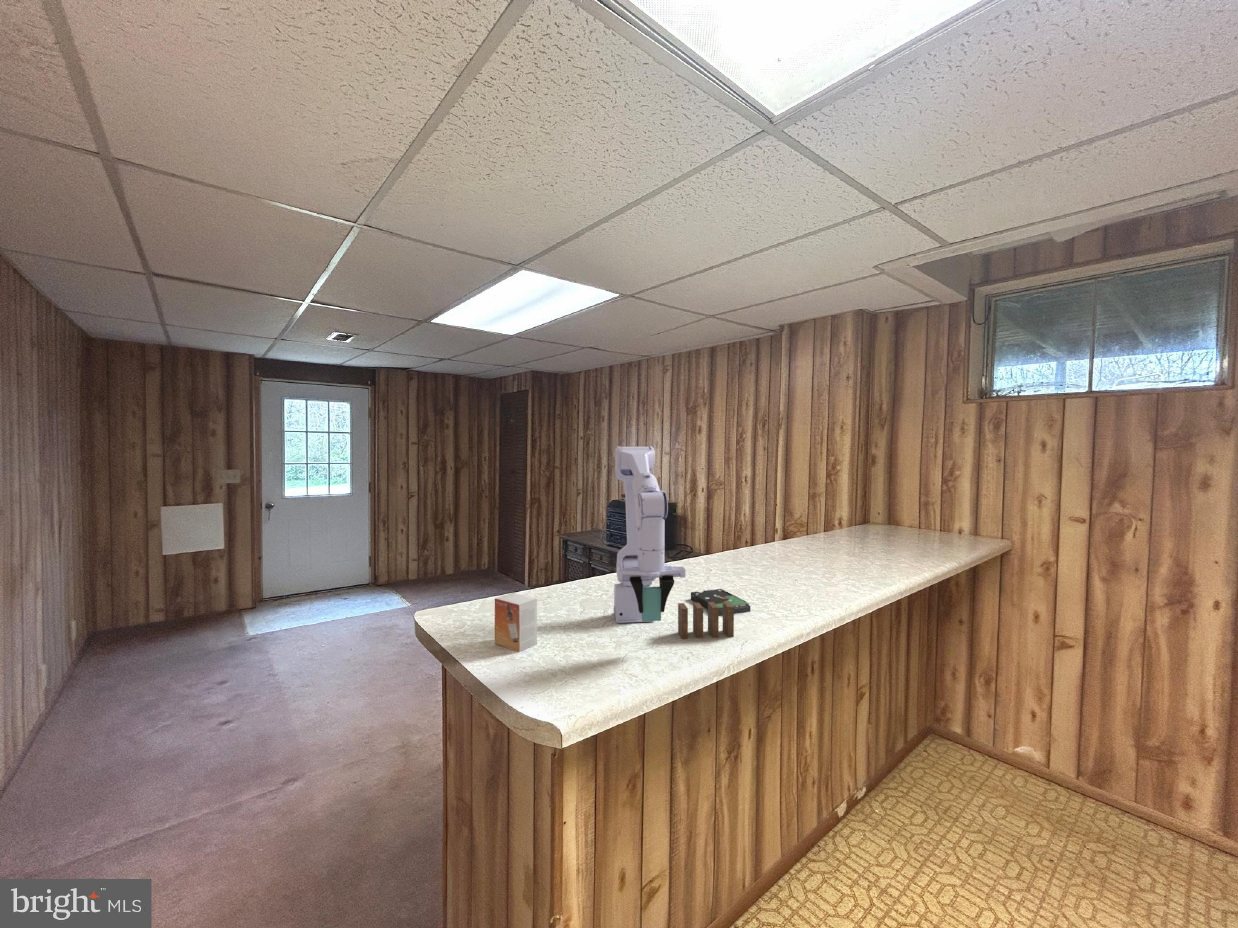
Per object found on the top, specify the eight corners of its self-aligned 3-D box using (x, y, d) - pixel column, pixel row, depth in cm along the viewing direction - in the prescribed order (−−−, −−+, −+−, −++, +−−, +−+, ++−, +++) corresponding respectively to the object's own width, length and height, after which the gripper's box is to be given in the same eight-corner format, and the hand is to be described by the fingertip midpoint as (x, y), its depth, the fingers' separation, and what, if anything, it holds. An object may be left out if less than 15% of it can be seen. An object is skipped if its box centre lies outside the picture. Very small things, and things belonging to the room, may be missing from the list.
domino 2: (697, 638, 114) (697, 608, 114) (693, 631, 118) (693, 602, 118) (703, 638, 114) (703, 608, 114) (698, 631, 118) (698, 602, 118)
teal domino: (661, 620, 106) (661, 588, 106) (642, 621, 106) (642, 588, 106) (659, 618, 108) (659, 586, 107) (641, 619, 107) (641, 587, 107)
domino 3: (712, 637, 114) (712, 607, 114) (707, 631, 118) (707, 602, 118) (718, 637, 115) (718, 607, 114) (713, 630, 119) (713, 601, 118)
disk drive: (689, 601, 142) (718, 618, 128) (689, 592, 142) (718, 607, 128) (720, 597, 146) (751, 613, 132) (720, 588, 146) (751, 602, 132)
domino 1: (681, 638, 114) (681, 608, 113) (678, 632, 118) (678, 603, 117) (687, 638, 114) (687, 608, 114) (683, 632, 118) (683, 602, 118)
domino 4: (727, 636, 115) (727, 607, 114) (722, 630, 119) (722, 601, 118) (733, 636, 115) (733, 606, 115) (728, 630, 119) (728, 601, 119)
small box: (494, 644, 111) (493, 597, 111) (512, 636, 116) (512, 591, 115) (519, 652, 107) (518, 604, 106) (537, 644, 111) (537, 597, 111)
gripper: (619, 553, 101) (619, 618, 102) (688, 551, 103) (688, 616, 103) (616, 546, 108) (616, 607, 109) (681, 544, 110) (681, 605, 110)
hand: (651, 610), depth 107 cm, fingers closed on teal domino, 4 cm apart
